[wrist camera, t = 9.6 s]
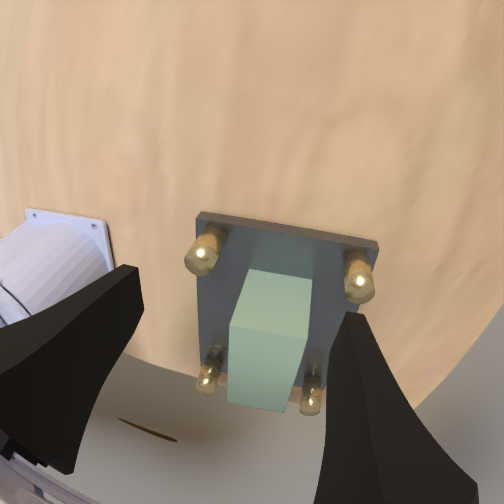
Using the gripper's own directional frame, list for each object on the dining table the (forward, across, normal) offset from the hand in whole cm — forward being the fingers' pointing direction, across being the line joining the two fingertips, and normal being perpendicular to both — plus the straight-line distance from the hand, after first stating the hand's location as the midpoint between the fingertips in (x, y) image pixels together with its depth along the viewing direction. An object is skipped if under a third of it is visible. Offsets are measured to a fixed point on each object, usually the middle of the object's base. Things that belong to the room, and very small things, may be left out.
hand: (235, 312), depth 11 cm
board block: (+8, -1, +8) cm, 12 cm away
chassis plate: (+9, -1, +9) cm, 13 cm away
